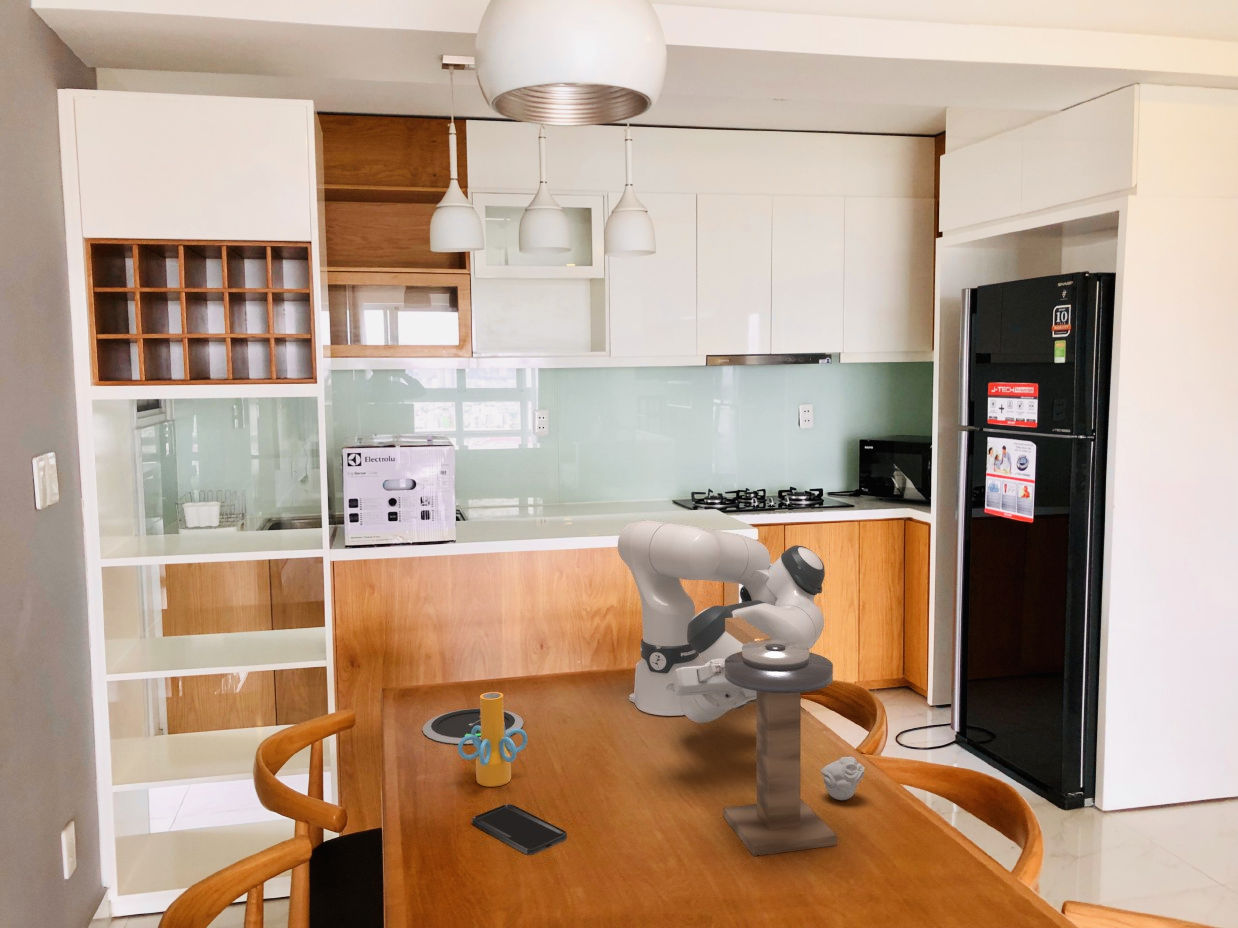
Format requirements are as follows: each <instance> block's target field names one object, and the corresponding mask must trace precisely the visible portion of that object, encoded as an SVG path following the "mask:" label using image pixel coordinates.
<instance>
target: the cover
mask: <svg viewBox="0 0 1238 928" xmlns="http://www.w3.org/2000/svg"><path fill="white" fill-rule="evenodd" d="M725 631H726V632H727V633H729V634H730V635H731V636H733V637H734V638H735V639H737V640H738V641H739V642H741V643H742V644H744V645H743V646H742V662H743V663H744V664H745V665H747V666H749V667H751V668H755V669H759V670H766V671H793V670H798V669H802V668H805V667H807V666H808V665H809V652H810V650H809V648H808V647H807V646H806V645H803V644H801V643H797V642H793V641H787V640H771V638H770V637H769V636H767V635H766V634H764V633H763V632H761V631H760V630H758V629H757V628H755V627H754V626H752V625H751V624H749V623H748V622H746V621H745V620H743V619H742V618H740V617H735V618H725Z"/></svg>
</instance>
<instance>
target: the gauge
mask: <svg viewBox="0 0 1238 928" xmlns="http://www.w3.org/2000/svg"><path fill="white" fill-rule="evenodd" d="M524 724H525V723H524V720H523V717H521V716H520V715H518V714H516V713H514V712H513V711H509V710H505V709H504V725H505V729H506V734H507V732H509V731H510V730H512V729H515V728H519V729H522V730H523V727H524ZM475 726H481V717H480V708H467V709H465V708H464V709H458V710H454V711H449V712H446V713H441V714H439V715H437V716H434V717H432V718H431V719H429V720H427V722H425V724H424V725H423V726H422V729H421V730H422V734H423V735H424V737H425V738H427V739H428V740H430V741H434V742H435V743H440V744H443V745H452V746H458V744H459V742H460V741H461V739H462V738H464V737H465V736H468V735H471V732H472V729H473V728H474V727H475ZM516 734H517V733H514V734H512V735H511V736H510V737H509V738H511V737H513V736H515V735H516ZM476 736H477V737H479V738H480V739H481V732H480V731H479V730H477V731H476ZM463 746H474V744H473V742H472V740H468V741H466V742H465V743H464V744H463Z"/></svg>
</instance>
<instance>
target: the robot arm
mask: <svg viewBox="0 0 1238 928" xmlns="http://www.w3.org/2000/svg"><path fill="white" fill-rule="evenodd" d="M617 539H618V540H617V552H618V554H619V557H620V559H621V560H622V561H623V562H624V563H625V564H626V566H627V567H628V569H629V570H630V572H631V574H632V577H633V580H634V582H635V585H636V587H637V592H638V594H639V598H640V599H639V600H640V604H641V614H642V615H641V616H642V617H641V618H642V639H640V649H639V650H640V657H641V659H640V660H638V662H637V663H636V664H635V673H634V674H635V675H634V692H632V693H630V694H629V695H628V697H629V698H628V700H629V701H630V702H632V703H634V704H635V706H636V708H637V709H638V710H640V711H641V712H644V713H646V714H652V715H656V716H666V717H667V716H669V717H670V716H671V717H673V716H686V717H687V718H688V719H689V720H690V721H693V722H695V723H701V724H703V723H704V724H705V723H709V722H712V721H714V720H715V721H716V719H718V718H720V717H721V716H723V715H724V714H726V713H727V712H729V711H730V710H737V709H738V710H739V709H742V708H743V707H745V706H746V705H748V704H750V703H755V702H756V691H754V690H749V689H745V688H742V687H739V686H736V685H734V684H732V683H730V682H729V681H728V680H727V679H726V678H725V659H726V658H727V657H728V656H730V655H732V654H735V653H737V652H741V651H742V646H743V645H744V644H742V643H741V642H739V641H738V640H737V639H735V638H734V637H733V636H731V635H730V634H729V633H727V632H726V631H725V618H735V617H740V618H742V619H743V620H745V621H746V622H748V623H749V624H751V625H752V626H754V627H755V628H757V629H758V630H760V631H761V632H763V633H764V634H766V635H767V636H769V637H770V638H771V640H787V641H793V642H797V643H801V644H803V645H806V646H807V647H808V648H809V651H810V650H811V648H813V647H814V646H815V644H816V643H817V642H818V640H819V639H820V637H821V636H822V632H823V631H824V627H825V618H824V614H823V612H822V611H821V608H820V607H819V606H818V605H817V604H816V603H815V597H816V596H817V595H818V594H822V592H823V586H822V585H823V582H824V580H825V576H826V571H825V564H824V562H823V561H822V559H821V558H820V557H819V556H818V555H817V554H816V553H815V552H814V551H813V550H811V549H809V548H807V547H806V546H803V545H792V546H790V547H789V548H787V549H786V550H785V551H784V552H782V553H781V555H780V556H779V558H777V559H776V560H775V561H774V562H773V563H772V562H771V561H772V560H771V554H770V552H769V550H768V548H767V546H766V545H764V544H763V543H762V542H760V541H758V540H757V539H754V538H751V537H749V536H746V535H742V534H738V533H733V532H728V531H721V530H714V529H710V528H705V527H701V526H693V525H688V524H681V523H675V522H674V523H672V522H664V521H659V520H652V519H647V520H638V521H634V522H632V521H631V522H630V523H628V524H626V525H625V526H624V527H623V529H622V530H621V531H620V533H619V536H618V538H617ZM680 579H681V580H686V581H687V580H689V581H710V582H711V581H712V582H721V583H727V584H729V583H730V584H731V583H732V584H738V585H739V584H740V585H741V586H742V587H741V588H740V591H739V597H740V600H741V602H738V603H734V604H729V605H719V604H718V605H713V606H710V607H707V608H705V609H703V610H701V611H700V612H698V613H697V614H696V608H695V606H696V605H695V602H694V601H693V599H692V597H691V596H690V595H689V594H688V593H687V592H686V591H685V588H684V587H683V585H682V582H681V580H680Z"/></svg>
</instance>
